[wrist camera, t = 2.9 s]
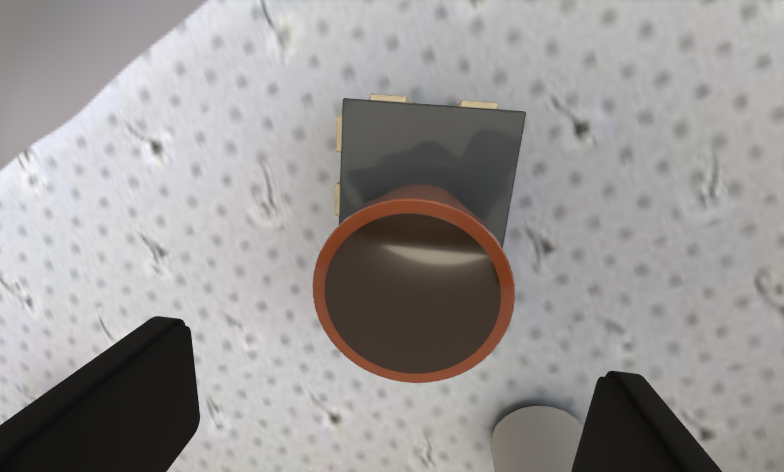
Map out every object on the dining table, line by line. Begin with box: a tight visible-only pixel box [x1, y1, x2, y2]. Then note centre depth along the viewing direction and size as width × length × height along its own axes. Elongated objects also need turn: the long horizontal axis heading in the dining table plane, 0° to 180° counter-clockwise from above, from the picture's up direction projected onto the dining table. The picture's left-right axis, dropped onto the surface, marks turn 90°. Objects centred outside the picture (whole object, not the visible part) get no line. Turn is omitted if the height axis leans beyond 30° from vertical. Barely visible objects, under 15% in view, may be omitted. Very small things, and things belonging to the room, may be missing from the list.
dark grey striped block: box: [334, 94, 526, 249], centre depth 23 cm, size 9×14×6 cm, turn 176°
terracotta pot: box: [313, 184, 515, 383], centre depth 17 cm, size 7×7×7 cm
